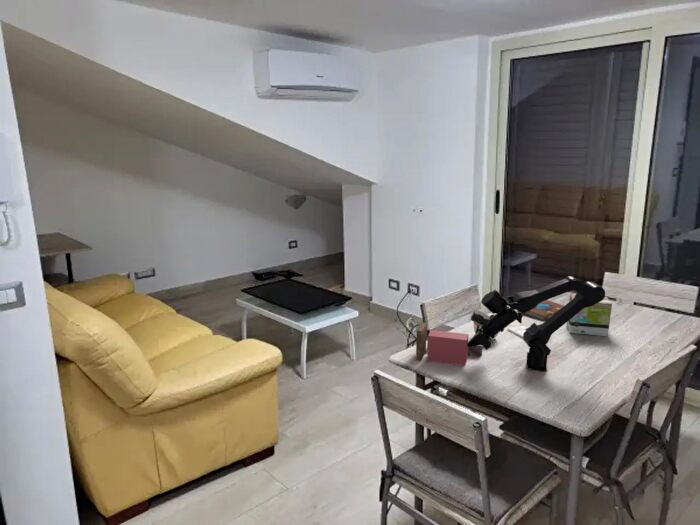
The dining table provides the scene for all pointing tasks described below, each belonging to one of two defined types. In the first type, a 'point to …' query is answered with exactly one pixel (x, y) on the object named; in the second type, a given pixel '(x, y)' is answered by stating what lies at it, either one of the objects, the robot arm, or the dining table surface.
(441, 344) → the pink rectangular block
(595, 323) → the tea box
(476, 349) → the bookend
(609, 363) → the dining table surface
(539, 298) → the robot arm
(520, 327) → the external hard drive
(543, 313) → the book
